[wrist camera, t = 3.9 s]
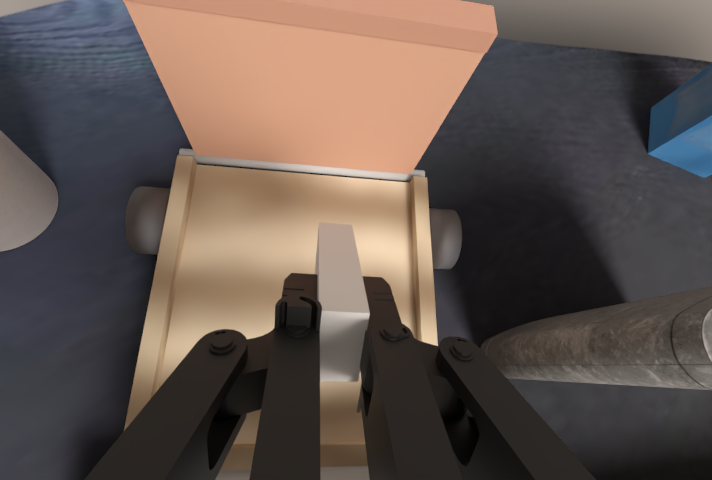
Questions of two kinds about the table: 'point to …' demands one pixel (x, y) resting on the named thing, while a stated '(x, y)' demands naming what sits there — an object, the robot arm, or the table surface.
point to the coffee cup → (23, 197)
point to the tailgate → (314, 78)
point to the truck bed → (277, 274)
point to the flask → (615, 344)
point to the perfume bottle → (685, 126)
